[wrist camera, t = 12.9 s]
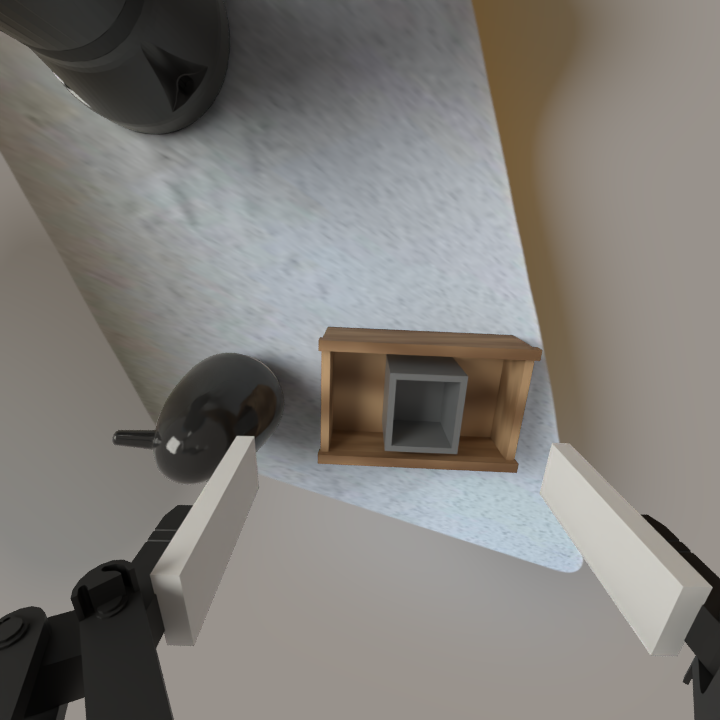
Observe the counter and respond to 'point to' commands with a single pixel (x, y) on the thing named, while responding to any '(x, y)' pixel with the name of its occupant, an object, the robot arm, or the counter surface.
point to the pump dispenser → (210, 416)
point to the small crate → (423, 403)
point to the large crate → (366, 392)
